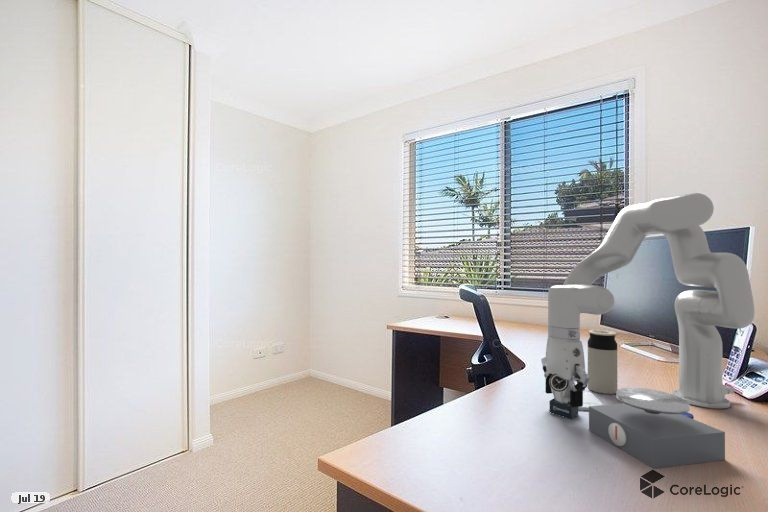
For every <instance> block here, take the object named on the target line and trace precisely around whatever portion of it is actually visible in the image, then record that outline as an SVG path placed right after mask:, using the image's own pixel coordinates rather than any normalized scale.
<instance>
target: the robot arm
mask: <svg viewBox="0 0 768 512" xmlns="http://www.w3.org/2000/svg"><path fill="white" fill-rule="evenodd" d="M714 209H715V208H714V203H713V201H712V200H711V198H710V197H708V196H707V195H706V194H703V193H698V192H692V193H688V194H682V195H676V196H669V197H663V198H657V199H654V200H651V201H649V202H644V203H637V204H632V205H628V206H626V207H624V208H622V209H621V210H620V211H619V213H618V214H617V216H616V217H615V219H614V220H613V222H612V224H611V226H610V228H609V229H608V231H607V233H606V234H605V235H604V238H603V239H602V241H601V243H600V245H599V246H598V247H597V249H595V250H594V251H593V252H591V253H590V254H589V255H587V256H586V257H585V258H584V259H583V260H581V261H580V262H579V263H578V264H576V265H575V266H574V268H573V269H571V271H570V272H569V274H568V276H567V277H566V278H565V280H564V282H563V284H562V285H561V284H560V285H552V286H550V287H549V289H548V294H547V295H548V296H547V298H548V299H547V305H548V307H547V316H548V317H547V340H546V345H545V346H546V347H545V356H544V357H542V358H541V360H540V361H541V365H542V371H543V373H544V374H543V375H544V378H545V393H546V394H553V393H552V391H551V387H550V384H549V380H550V378H551V376H552V375H554V374H555V373H556V374H557V376H558V377H560V378H562V379H564V380H567V381H569V384H570V386H571V388H572V390H570V406H571V407H582V406H583V392H585V391H586V388H588V382H589V380H590V377H589V375H588V372H586V362H585V353H584V346H583V343H582V341H581V314H588V315H597V316H598V315H600V316H601V315H605V314H607V313H608V312H610V311H611V310H612V309H613V307H614V306H615V297H614V294H613V293H612V292H611V291H610V290H609V289H608V288H606V287H604V286H599V285H596V284H595V285H594V282H596V280H598V279H599V278H601V277H602V276H604V275H607V274H609V273H611V272H614V271H617V270H619V269H621V268H623V267H626V266H628V265H630V263H631V262H632V261H633V259H634V257H635V256H636V254H637V251H638V250H639V249H640V247H641V245H642V243H643V242H644V240H645V239H646V237H647V236H649V235H657V234H658V235H659V234H663V236H664V237H665V239H666V241H667V242H668V245H669V246H668V247H669V249H670V254H671V255H670V256H671V259H672V260H671V261H672V264H673V270H674V274H675V277H676V281H678V282H679V284H682V285H684V286H689V287H690V286H691V287H700V288H701V287H702V288H715V290H705V289H689V290H684V291H682V292H680V293H679V294H678V295H677V296H676V297H675V301H674V311H675V316H676V320H677V325H678V326H677V327H678V341H679V343H678V345H679V346H678V359H679V360H678V366H679V367H678V374H679V375H678V376H679V378H678V379H679V381H678V383H679V386H678V387H679V389H676V390H673V391H672V394H673V395H676V396H678V397H681V398H683V399H685V400H686V401H688V402H689V404H690V405H693V406H697V407H701V408H707V409H720V410H721V409H727V408H730V407H731V401H730V400H729V399H728V398H726V397H725V395H731V394H732V395H733V394H734V393H735V389H734V388H733V387H731V386H724V385H723V381H724V380H723V340H722V337H721V334H720V333H719V330H718V329H717V327H721V328H722V327H723V328H726V329H727V328H729V329H737V330H738V329H745V328H747V327H749V326H750V325H751V324H752V323H753V321H754V319H755V304H754V297H753V291H752V285H751V280H750V279H751V278H750V275H749V274H750V273H749V269H748V266H747V265H746V263H745V262H744V260H743V259H742V258H741V257H740V256H738V255H737V254H734V253H731V252H711V250H710V248H709V247H710V246H709V243H708V239H707V236H706V233H705V232H704V230H703V228H702V227H701V225H704V224H706V223H707V222H708V221H710V219H711V218H712V216H713V213H714ZM572 377H573V378H572ZM575 382H576V383H575Z"/></svg>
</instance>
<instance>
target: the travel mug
mask: <svg viewBox="0 0 768 512" xmlns="http://www.w3.org/2000/svg"><path fill="white" fill-rule="evenodd" d="M587 331H588V333H589V337H588V340H587V374H588V375H589V377H590V380H589V382H588V384H587V388H588V389H589V390H590V391H592V392H594V391H595V392H594V393H597V392H598V394H602V393H603V394H604V395H614V394H616V391H617V390H618V343H617V341H616V336H617V333H616V332H615V331H611V330H604V329H590V330H587Z"/></svg>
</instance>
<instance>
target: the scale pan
mask: <svg viewBox="0 0 768 512" xmlns="http://www.w3.org/2000/svg"><path fill="white" fill-rule="evenodd" d="M615 394H616V395H615V396H616V399H617V400H618V401H620V402H621V403H622V404H624V403H625V404H627V405H629V406H632V407H635V408H638V409H642V410H643V411H645V412H647V413H651V414H660V413H665V414H683V413H690V410H691V404H689V402H688V401H686V400H685V399H683V398H681V397H678V396H676V395H673V393H669V392H667V391H661V390H656V389H650V388H643V387H623V388H619V389H617V391H616V393H615Z"/></svg>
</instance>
